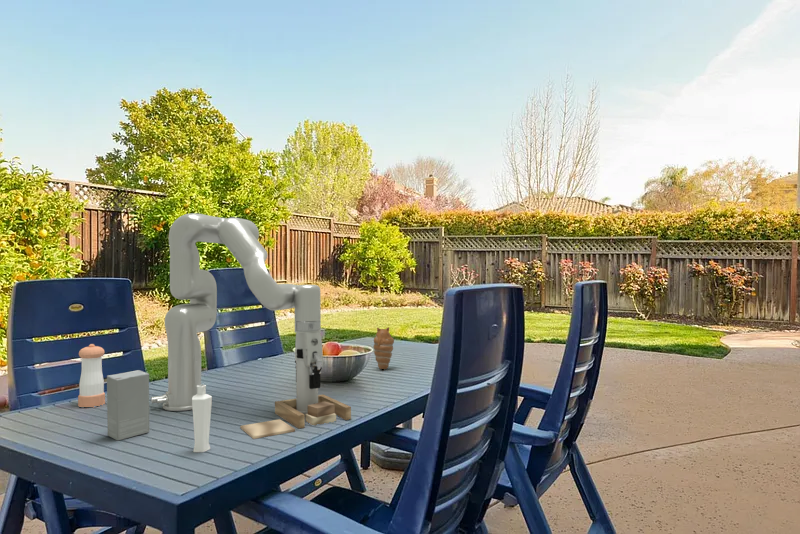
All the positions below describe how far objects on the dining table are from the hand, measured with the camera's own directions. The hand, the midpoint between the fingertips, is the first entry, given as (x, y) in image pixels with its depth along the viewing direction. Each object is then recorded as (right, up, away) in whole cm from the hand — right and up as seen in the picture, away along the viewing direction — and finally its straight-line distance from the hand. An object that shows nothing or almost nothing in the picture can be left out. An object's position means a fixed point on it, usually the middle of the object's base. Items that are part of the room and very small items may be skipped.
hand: (307, 385), depth 152 cm
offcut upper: (+5, -6, -7) cm, 11 cm away
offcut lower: (+5, -9, -8) cm, 13 cm away
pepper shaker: (-70, -9, +11) cm, 71 cm away
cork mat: (-8, -8, -15) cm, 19 cm away
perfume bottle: (-20, -8, -30) cm, 37 cm away
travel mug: (0, -9, 0) cm, 9 cm away
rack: (+2, -8, -3) cm, 9 cm away
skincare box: (-43, -9, -19) cm, 47 cm away
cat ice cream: (+20, -9, +67) cm, 71 cm away
